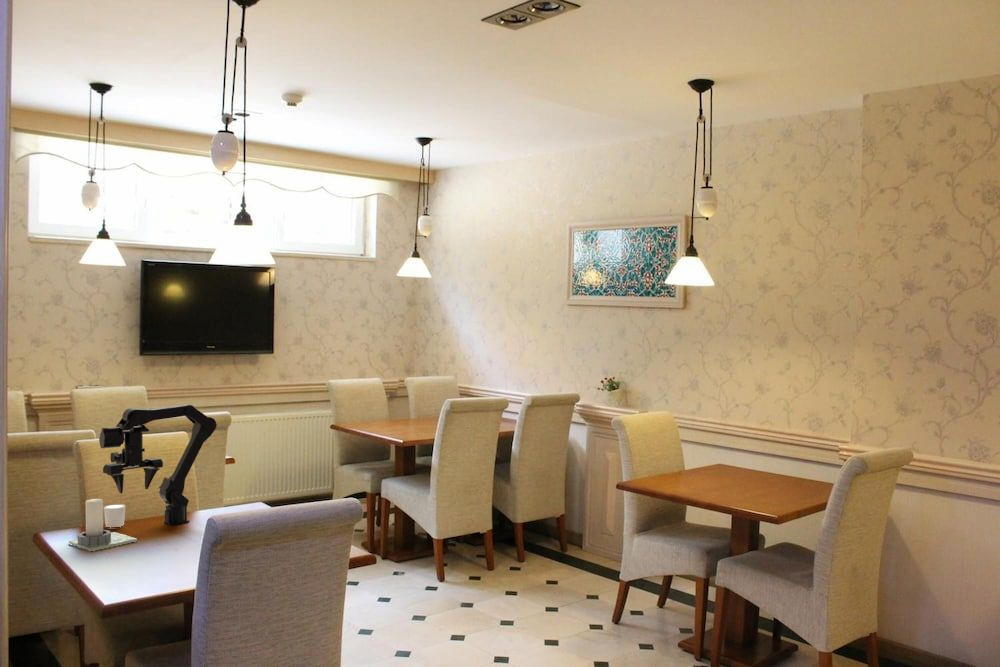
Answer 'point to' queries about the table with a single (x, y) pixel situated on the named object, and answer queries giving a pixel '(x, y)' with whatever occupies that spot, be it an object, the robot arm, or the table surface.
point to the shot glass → (114, 515)
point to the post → (94, 517)
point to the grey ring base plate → (101, 540)
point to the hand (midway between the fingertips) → (133, 491)
